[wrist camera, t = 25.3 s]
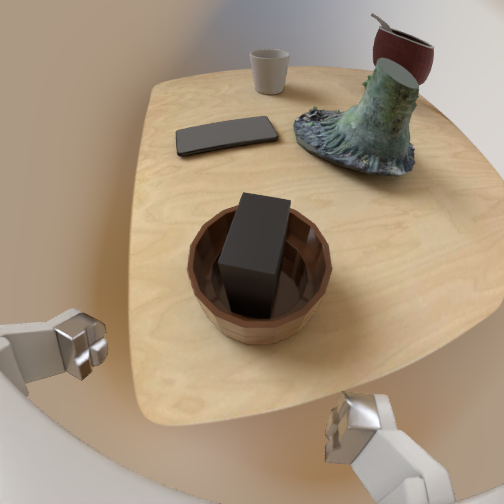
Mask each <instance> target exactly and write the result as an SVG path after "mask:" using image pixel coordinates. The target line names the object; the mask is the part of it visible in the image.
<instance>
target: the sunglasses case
mask: <svg viewBox="0 0 504 504" xmlns="http://www.w3.org/2000/svg"><path fill="white" fill-rule="evenodd" d="M290 205H291V200H286V199H281V198H275V197H269V196H263V195H257V194H250V193H243V194H242V197H241V199H240V202H239V205H238V208H237V210H236V213H235V216H234V219H233V221H232V224H231V227H230V230H229V233H228V235H227V238H226V241H225V244H224V247H223V250H222V253H221V256H220V258H219V261H218V265H219V269H220V273H221V277H222V280H223V284H224V288H225V291H226V295H227V299H228V302H229V306H230V309H231V312H233V313H236V314H240V315H245V316H249V317H254V318H259V319H270V317H271V312H272V308H273V303H274V299H275V294H276V290H277V285H278V281H279V276H280V272H281V267H282V262H283V255H284V248H285V241H286V234H287V227H288V220H289V212H290Z"/></svg>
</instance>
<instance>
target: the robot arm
mask: <svg viewBox="0 0 504 504" xmlns="http://www.w3.org/2000/svg"><path fill="white" fill-rule="evenodd" d="M105 334H106V327H105V324H104V323H103V322H101V321H99V320H97V319H95V318H93V317H91V316H89V315H87V314H85V313H83V312H81V311H79V310H77V309H74V308H71V309H69V310H67V311H66V312H64V313H62V314H60V315H58V316H56V317H54V318H53V319H51V320H49V321H47V322H46V323H44V322H33V323H20V324H7V325H0V504H219V503H215V502H212V501H208V500H205V499H202V498H199V497H196V496H193V495H190V494H187V493H184V492H181V491H179V490H176V489H174V488H171V487H169V486H166V485H164V484H161V483H159V482H157V481H154V480H152V479H150V478H148V477H145V476H143V475H141V474H139V473H137V472H135V471H133V470H131V469H129V468H127V467H125V466H123V465H121V464H120V463H118V462H116V461H114V460H112V459H111V458H109V457H107V456H105V455H104V454H102V453H100V452H99V451H97V450H95V449H94V448H92V447H91V446H89V445H88V444H86V443H85V442H83V441H82V440H80V439H79V438H77V437H76V436H74V435H73V434H71V433H70V432H69V431H67V430H66V429H65V428H63V427H62V426H60V425H59V424H58V423H57V422H55V421H54V420H53V419H52V418H50V417H49V416H48V415H47V414H45V413H44V412H43V411H42V410H41V409H39V408H38V407H37V406H36V405H35V404H34V403H33V402H32V401H30V400H29V399H28V398H27V396H28V395H29V392H28V389H27V387H26V385H25V383H29V382H32V381H36V380H40V379H44V378H47V377H51V376H54V375H58V374H61V373H64V372H65V371H66V372H68V373H69V374H71V375H73V376H74V377H76V378H78V379H79V380H81V381H82V380H83V379H84V378H85V377H87V376H88V374H90V373H91V372H92V370H93V367H94V366H98V365H100V364H102V363H103V362H104V360H105V359H106V357H107V354H108V343H107V341H106V339H105V338H104V336H105ZM325 436H326V437H327V439H328V440H329V441H328V443H327V444H326V446H325V462H328V463H337V464H350V466H351V468H352V469H353V470H354V472H355V474H356V475H357V476H358V478H359V479H360V481H361V483H362V484H363V485H364V487H365V488H366V490H367V491H368V493H369V494H370V496H371V497H372V499H373V500H374V501H375V503H376V504H504V483H503V484H501V485H499V486H497V487H495V488H492V489H490V490H487V491H485V492H483V493H480V494H477V495H475V496H472V497H469V498H466V499H463V500H460V501H457V502H456V498H455V494H454V491H453V487H452V483H451V480H450V476H449V473H448V470H446V469H445V468H444V467H443V466H442V465H441V464H439V463H438V462H437V461H436V460H435V459H434V458H432V457H431V456H430V455H429V454H428V453H427V452H426V451H425V450H423V449H422V448H421V447H420V446H419V445H417V443H415V442H414V441H413V440H412V439H411V438H410V437H409V436H408V435H407V434H405V433H404V432H403V431H402V430H398V429H397V425H396V422H395V418H394V415H393V411H392V408H391V404H390V401H389V397H388V396H387V395H382V394H363V393H354V392H346V391H342V392H341V393H340V395H339V397H338V398H337V407H336V408H334V409H332V410H331V413H330V415H329V417H328V420H327V424H326V430H325Z"/></svg>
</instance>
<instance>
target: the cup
mask: <svg viewBox="0 0 504 504" xmlns="http://www.w3.org/2000/svg"><path fill="white" fill-rule="evenodd" d="M289 56H290V55H289V53H287V52H285V51H281V50H274V49H261V50H255V51H252V52H251V53H250V59H251V66H252V73H253V78H254V84H255V89H256V91H258V92H260V93H262V94H278V93H280V92H282V91H283V89H284V84H285V79H286V74H287V69H288V63H289Z"/></svg>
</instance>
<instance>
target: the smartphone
mask: <svg viewBox="0 0 504 504" xmlns="http://www.w3.org/2000/svg"><path fill="white" fill-rule="evenodd" d="M277 139H278V134H277V132H276V131H275V129H274V127H273V126H272V124H271V122H270V121H269V119H268V117H266V116H260V117H251V118H243V119H236V120H229V121H223V122H217V123H211V124H205V125H200V126H195V127H190V128H185V129H180V130H177V131H176V146H177V155H178V156H185V155H190V154H195V153H200V152H205V151H210V150H216V149H221V148H227V147H233V146H239V145H246V144H253V143H260V142H267V141H275V140H277Z"/></svg>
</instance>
